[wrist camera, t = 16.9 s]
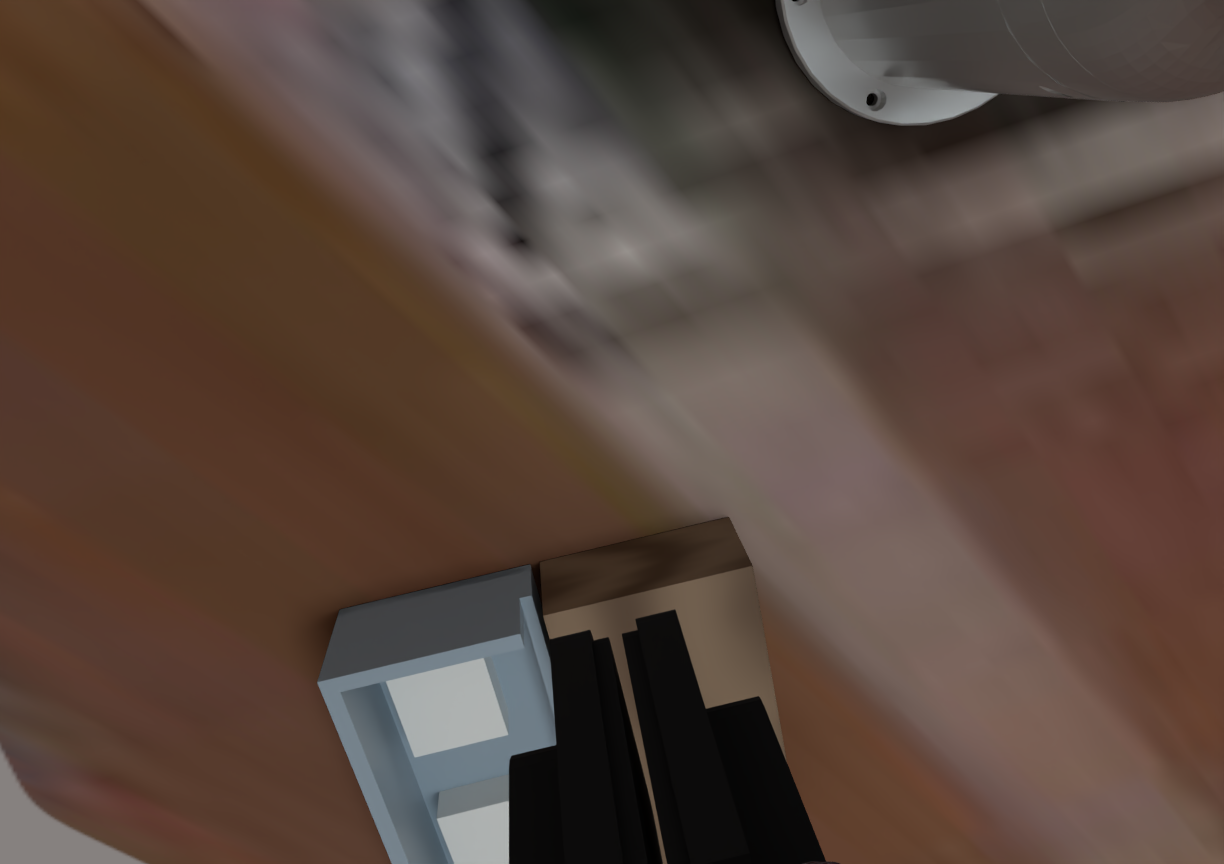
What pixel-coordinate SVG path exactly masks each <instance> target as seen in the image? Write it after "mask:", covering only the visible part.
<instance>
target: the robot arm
mask: <svg viewBox="0 0 1224 864" xmlns="http://www.w3.org/2000/svg"><path fill="white" fill-rule="evenodd" d="M775 2H776V9H777V13H778V17H779V21H780V24H781V28H782V32H783V36H784V38H785V40H786V42H787V45H788V47H789V49H790V51H791V53H792V55H793V57H794V59H795V61H796V63H797V65H798V66H799V67H800V69H801V70H802V71H803V73H804V74H805V75H806V77H807V78H808V79H809V81H810V82H811V83H812V85H813V86H814V87H816V88H817V89H818V90H819V91H820V92H821V93H822V94H824V95H825V96H826V97H827V98H828V99H829V100H830V101H831V102H833V103H834V104H836V105H838V106H840V107H841V108H843V109H845V110H847V111H849V112H850V113H852V114H854V115H856V116H859V117H862V118H866V119H869V120H872V121H876V122H879V123H885V124H893V125H899V126H909V125H929V124H933V123H938V122H942V121H946V120H951V119H954V118H957V117H959V116H961V115H963V114H966V113H968V112H970V111H972V110H975V109H977V108H979V107H981V106H982V105H984V104H985V103H987V102H988V101H990V100H991V99H993V98H994V97H996V96H997V95H998V94H1012V95H1027V96H1043V97H1058V98H1073V99H1088V100H1104V101H1119V102H1125V101H1131V102H1173V101H1182V100H1190V99H1195V98H1200V97H1205V96H1209V95H1213V94H1216V93H1220V92H1223V91H1224V0H797V1H795V2H793V1H792V0H775ZM870 93H871V94H873V96H874V101H873V103H872V104H871V105H869V106H868V105H867V103H866V101H867V96H868V95H869V94H870ZM635 621H636V625H637V629H638V630H635V631H631V632H627V633H622V639H623V644H624V649H625V654H626V659H627V664H628V669H629V674H630V679H631V684H632V689H633V694H634V699H635V704H636V710H637V715H638V720H639V725H640V730H641V735H642V740H643V745H644V750H645V755H646V760H647V765H648V770H649V775H650V780H651V786H652V791H653V796H654V801H655V806H656V811H657V816H658V821H659V826H660V831H661V836H662V841H663V846H664V851H665V856H666V861H667V864H840V863H836V862H826V860H825V858H824V855H823V853H822V850H821V848H820V845H819V843H818V840H817V837H816V835H815V832H814V830H813V827H812V825H811V822H810V820H809V817H808V815H807V812H806V810H805V807H804V805H803V802H802V800H801V797H800V795H799V792H798V790H797V787H796V785H795V782H794V780H793V777H792V774H791V772H790V769H789V767H788V764H787V762H786V759H785V757H784V754H783V752H782V749H781V747H780V744H779V742H778V739H777V737H776V734H775V732H774V729H773V727H772V724H771V722H770V719H769V717H768V714H767V711H766V709H765V707H764V704H763V702H762V700H761V698H760V697H759V696H757V697H752V698H748V699H744V700H740V701H736V702H732V703H728V704H723V705H719V706H715V707H711V708H707V709H706V708H705V705H704V701H703V698H702V695H701V691H700V688H699V685H698V682H697V678H696V675H695V672H694V669H693V665H692V662H691V659H690V655H689V652H688V649H687V646H686V642H685V639H684V636H683V632H682V629H681V626H680V623H679V619H678V616H677V613H676V610H675V609H674V610H670V611H666V612H662V613H657V614H653V615H649V616H645V617H641V618H637V619H635ZM549 646H550V660H551V674H552V689H553V703H554V717H555V732H556V745H554V746H549V747H545V748H541V749H537V750H533V751H529V752H525V753H520V754H516V755H512V756H511V758H510V760H509V864H663V860H662V855H661V850H660V845H659V840H658V834H657V829H656V824H655V819H654V814H653V810H652V805H651V801H650V797H649V792H648V788H647V784H646V781H645V777H644V773H643V769H642V765H641V761H640V757H639V753H638V749H637V745H636V741H635V737H634V733H633V729H632V725H631V721H630V717H629V714H628V710H627V706H626V702H625V698H624V694H623V690H622V686H621V682H620V678H619V674H618V670H617V666H616V662H615V658H614V654H613V650H612V647H611V643H610V639H609V637H606V638H602V639H597V640H594V639H593V636H592V633H591V630H586V631H582V632H578V633H574V634H570V635H566V636H561V637H557V638H553V639H550V641H549Z"/></svg>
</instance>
